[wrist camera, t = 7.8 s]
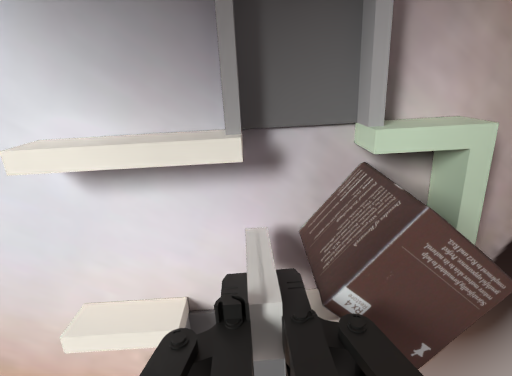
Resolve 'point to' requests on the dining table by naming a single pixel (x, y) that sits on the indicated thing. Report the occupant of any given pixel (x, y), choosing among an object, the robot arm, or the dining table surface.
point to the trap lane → (268, 116)
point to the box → (399, 265)
